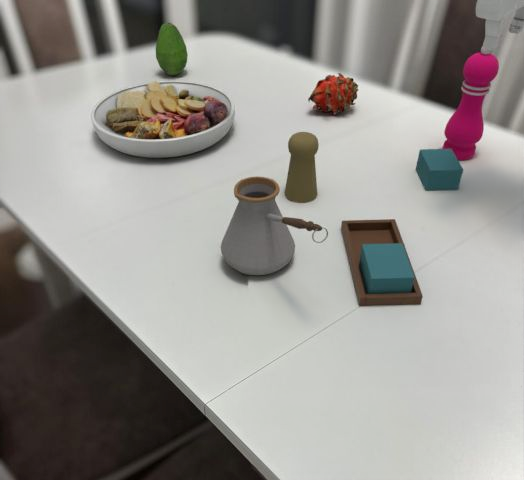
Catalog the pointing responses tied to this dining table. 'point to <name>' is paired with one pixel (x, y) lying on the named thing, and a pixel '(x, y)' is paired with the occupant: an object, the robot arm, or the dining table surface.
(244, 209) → the coffee pot
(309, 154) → the olive peg doll
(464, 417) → the dining table surface
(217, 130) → the bowl
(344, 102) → the dragon fruit
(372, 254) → the teal block
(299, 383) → the dining table surface
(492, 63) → the pepper mill
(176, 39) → the avocado
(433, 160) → the loose pad
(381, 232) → the brown wooden tray
